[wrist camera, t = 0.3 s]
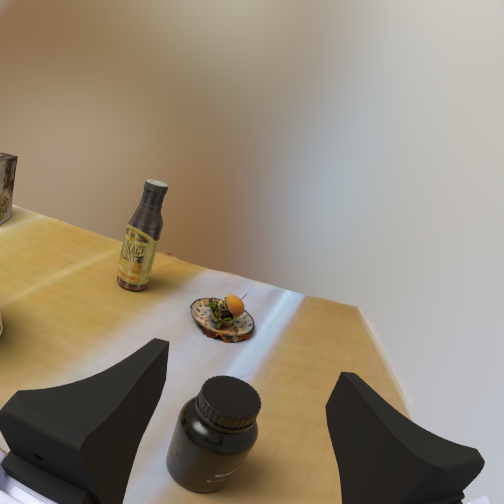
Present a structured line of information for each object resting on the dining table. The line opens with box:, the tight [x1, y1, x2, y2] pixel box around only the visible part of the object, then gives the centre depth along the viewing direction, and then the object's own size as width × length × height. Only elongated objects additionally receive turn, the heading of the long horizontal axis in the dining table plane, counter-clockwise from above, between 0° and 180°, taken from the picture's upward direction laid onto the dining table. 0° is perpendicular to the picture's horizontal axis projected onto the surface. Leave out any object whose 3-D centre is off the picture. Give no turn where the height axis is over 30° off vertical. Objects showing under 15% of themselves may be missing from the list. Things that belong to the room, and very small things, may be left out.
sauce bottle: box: [117, 180, 168, 291], centre depth 51 cm, size 6×6×20 cm
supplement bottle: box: [166, 376, 261, 492], centre depth 23 cm, size 7×7×12 cm
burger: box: [190, 294, 254, 343], centre depth 52 cm, size 12×12×8 cm
